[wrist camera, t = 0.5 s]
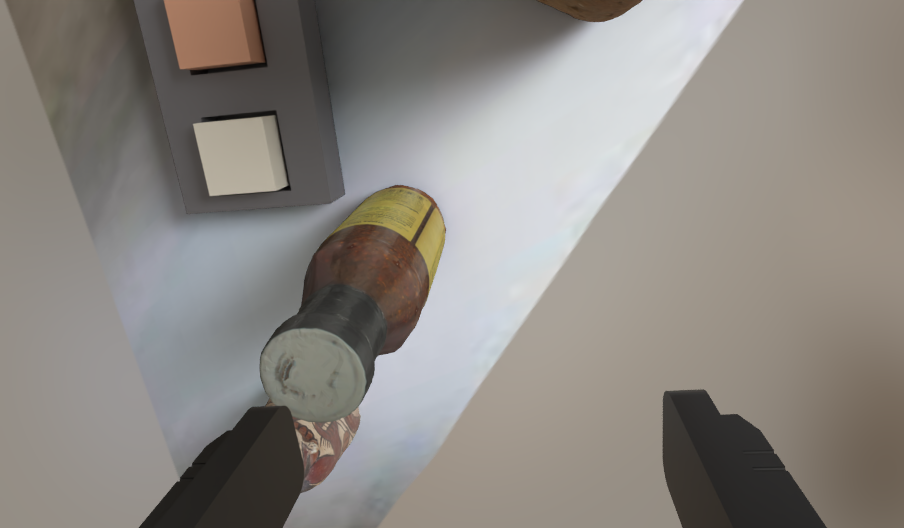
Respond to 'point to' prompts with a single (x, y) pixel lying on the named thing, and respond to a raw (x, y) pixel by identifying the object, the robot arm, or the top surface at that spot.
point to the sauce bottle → (355, 305)
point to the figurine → (323, 445)
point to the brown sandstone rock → (592, 8)
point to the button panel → (251, 105)
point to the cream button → (241, 155)
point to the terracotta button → (215, 33)
